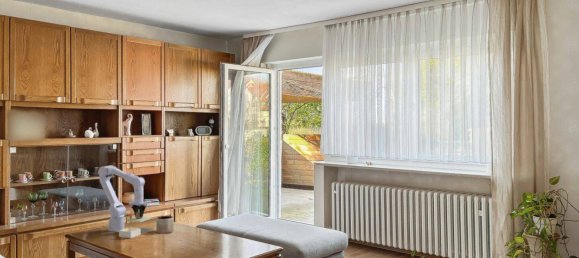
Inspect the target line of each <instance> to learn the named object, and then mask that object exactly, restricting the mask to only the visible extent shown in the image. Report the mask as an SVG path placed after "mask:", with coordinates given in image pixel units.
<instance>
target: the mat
mask: <svg viewBox="0 0 579 258" xmlns="http://www.w3.org/2000/svg"><path fill="white" fill-rule="evenodd" d="M139 228H140V229H141V234H143V233H147V232H149V231H151V230H152V231H153V230H154V228H147V227H139Z"/></svg>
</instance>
